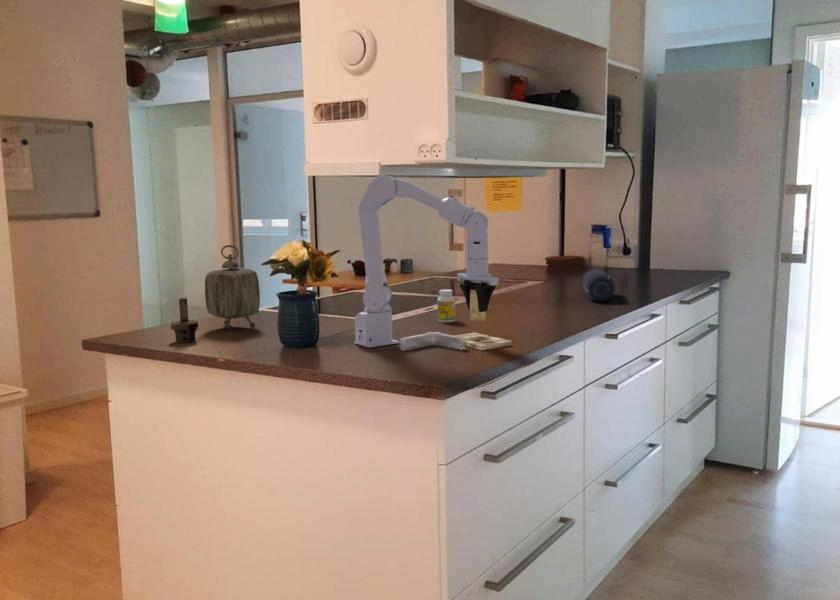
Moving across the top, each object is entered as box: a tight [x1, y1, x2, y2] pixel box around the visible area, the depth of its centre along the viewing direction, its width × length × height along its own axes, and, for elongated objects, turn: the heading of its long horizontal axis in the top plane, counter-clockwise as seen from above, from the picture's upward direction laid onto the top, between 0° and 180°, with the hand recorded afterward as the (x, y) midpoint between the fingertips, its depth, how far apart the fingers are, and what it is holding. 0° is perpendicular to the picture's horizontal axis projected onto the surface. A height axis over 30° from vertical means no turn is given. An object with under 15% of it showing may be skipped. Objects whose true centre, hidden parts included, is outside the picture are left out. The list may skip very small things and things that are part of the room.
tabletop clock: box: [204, 244, 261, 331], centre depth 231 cm, size 14×9×25 cm, turn 59°
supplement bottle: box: [437, 289, 456, 323], centre depth 237 cm, size 5×5×10 cm
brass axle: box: [469, 289, 486, 322], centre depth 202 cm, size 4×4×8 cm
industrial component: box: [170, 297, 199, 343], centre depth 214 cm, size 9×7×12 cm
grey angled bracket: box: [399, 331, 466, 352], centre depth 200 cm, size 9×16×3 cm, turn 87°
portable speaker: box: [582, 267, 616, 303], centre depth 280 cm, size 25×10×10 cm, turn 172°
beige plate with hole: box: [455, 332, 513, 351], centre depth 203 cm, size 15×10×1 cm, turn 34°
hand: (477, 310), depth 202 cm, fingers closed on brass axle, 4 cm apart
